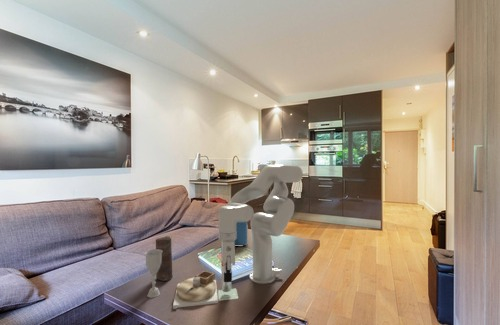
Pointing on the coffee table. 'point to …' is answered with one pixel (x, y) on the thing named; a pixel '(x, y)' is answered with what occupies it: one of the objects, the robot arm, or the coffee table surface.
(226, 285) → the small glass bottle
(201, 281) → the dial
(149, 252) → the chalice
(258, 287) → the coffee table surface
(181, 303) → the dial base
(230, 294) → the pad
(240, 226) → the wine bottle
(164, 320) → the coffee table surface
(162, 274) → the candle
